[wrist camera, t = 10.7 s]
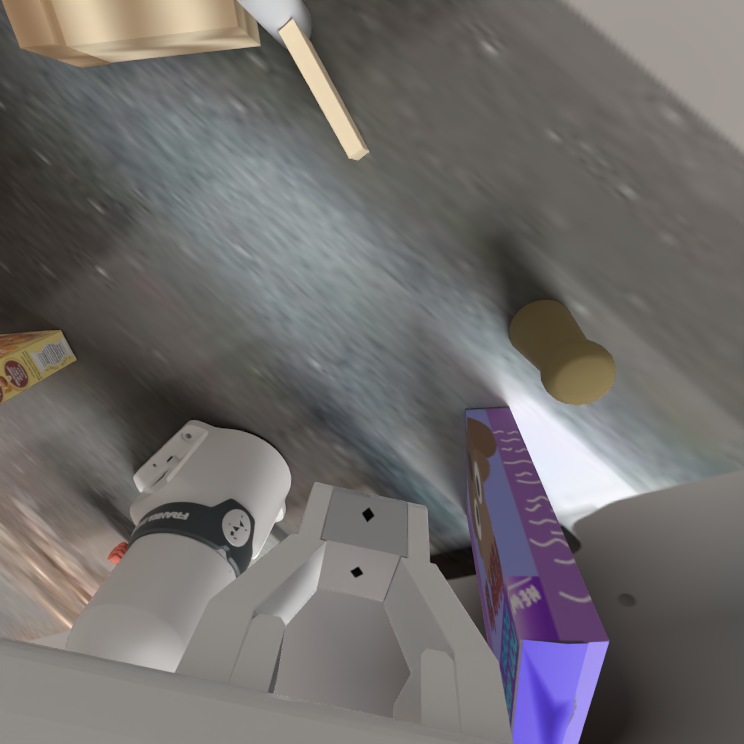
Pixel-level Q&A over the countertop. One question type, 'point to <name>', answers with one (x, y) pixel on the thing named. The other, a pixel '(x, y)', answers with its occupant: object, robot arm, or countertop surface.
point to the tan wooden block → (129, 28)
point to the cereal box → (529, 587)
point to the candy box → (30, 359)
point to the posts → (308, 64)
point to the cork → (562, 353)
